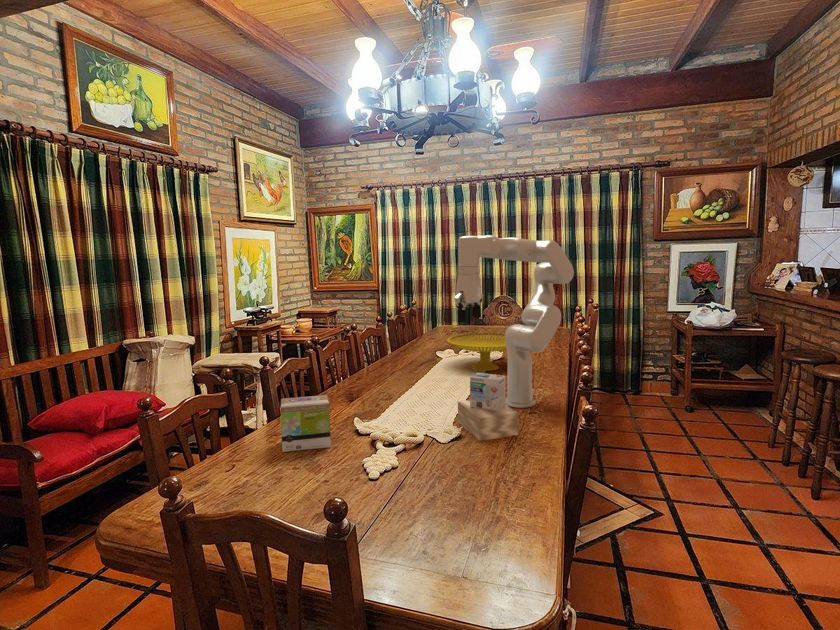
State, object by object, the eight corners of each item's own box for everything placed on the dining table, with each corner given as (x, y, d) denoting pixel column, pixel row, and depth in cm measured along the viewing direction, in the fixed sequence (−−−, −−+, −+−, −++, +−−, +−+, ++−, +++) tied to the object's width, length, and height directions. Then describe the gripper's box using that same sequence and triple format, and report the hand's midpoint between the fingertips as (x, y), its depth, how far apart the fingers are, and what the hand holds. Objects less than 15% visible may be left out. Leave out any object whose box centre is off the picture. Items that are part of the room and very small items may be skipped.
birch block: (493, 418, 174) (493, 397, 173) (518, 436, 157) (518, 412, 156) (458, 423, 169) (457, 401, 168) (479, 442, 152) (479, 418, 151)
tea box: (282, 453, 146) (279, 407, 144) (282, 441, 155) (279, 397, 153) (331, 447, 150) (329, 402, 148) (329, 436, 159) (327, 393, 157)
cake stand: (535, 363, 254) (535, 335, 252) (507, 381, 220) (507, 350, 218) (467, 356, 275) (467, 330, 273) (432, 371, 241) (431, 342, 239)
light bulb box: (469, 407, 162) (469, 376, 161) (477, 401, 168) (477, 372, 166) (499, 411, 157) (499, 380, 155) (506, 406, 162) (506, 375, 161)
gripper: (472, 270, 177) (473, 315, 179) (446, 272, 163) (447, 321, 166) (490, 270, 172) (490, 316, 175) (464, 272, 159) (465, 323, 161)
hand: (469, 319), depth 170 cm, fingers open, 9 cm apart
